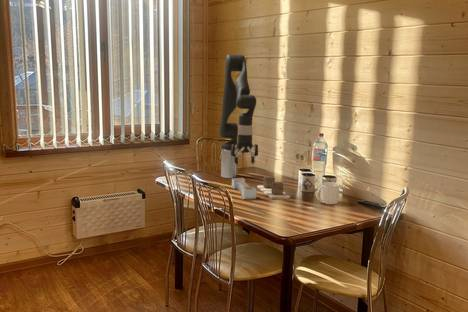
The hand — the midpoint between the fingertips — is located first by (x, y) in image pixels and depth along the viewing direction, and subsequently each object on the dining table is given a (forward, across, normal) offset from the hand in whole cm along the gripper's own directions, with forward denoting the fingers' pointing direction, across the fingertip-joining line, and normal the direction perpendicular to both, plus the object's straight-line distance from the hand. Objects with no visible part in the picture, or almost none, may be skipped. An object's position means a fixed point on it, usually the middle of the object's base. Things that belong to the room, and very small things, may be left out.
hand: (244, 163), depth 241 cm
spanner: (+16, 0, 0) cm, 16 cm away
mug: (+16, -37, +24) cm, 47 cm away
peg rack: (+16, -16, +2) cm, 23 cm away
